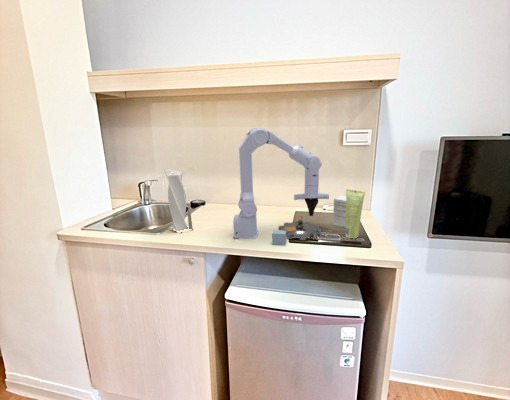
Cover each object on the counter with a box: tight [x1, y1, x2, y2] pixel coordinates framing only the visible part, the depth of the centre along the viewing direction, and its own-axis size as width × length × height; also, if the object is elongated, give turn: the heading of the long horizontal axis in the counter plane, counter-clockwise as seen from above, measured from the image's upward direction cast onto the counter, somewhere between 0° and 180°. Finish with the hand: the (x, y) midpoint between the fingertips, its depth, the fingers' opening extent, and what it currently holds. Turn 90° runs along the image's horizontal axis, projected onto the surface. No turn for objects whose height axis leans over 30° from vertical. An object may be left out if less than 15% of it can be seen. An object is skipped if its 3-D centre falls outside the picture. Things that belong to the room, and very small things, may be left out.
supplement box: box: [332, 195, 346, 228], centre depth 124 cm, size 7×7×13 cm
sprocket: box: [278, 214, 322, 241], centre depth 117 cm, size 18×18×6 cm
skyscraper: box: [164, 169, 194, 231], centre depth 122 cm, size 8×8×28 cm
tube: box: [344, 188, 366, 239], centre depth 109 cm, size 6×5×20 cm
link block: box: [271, 229, 287, 246], centre depth 107 cm, size 5×4×5 cm
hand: (311, 215), depth 121 cm, fingers closed
